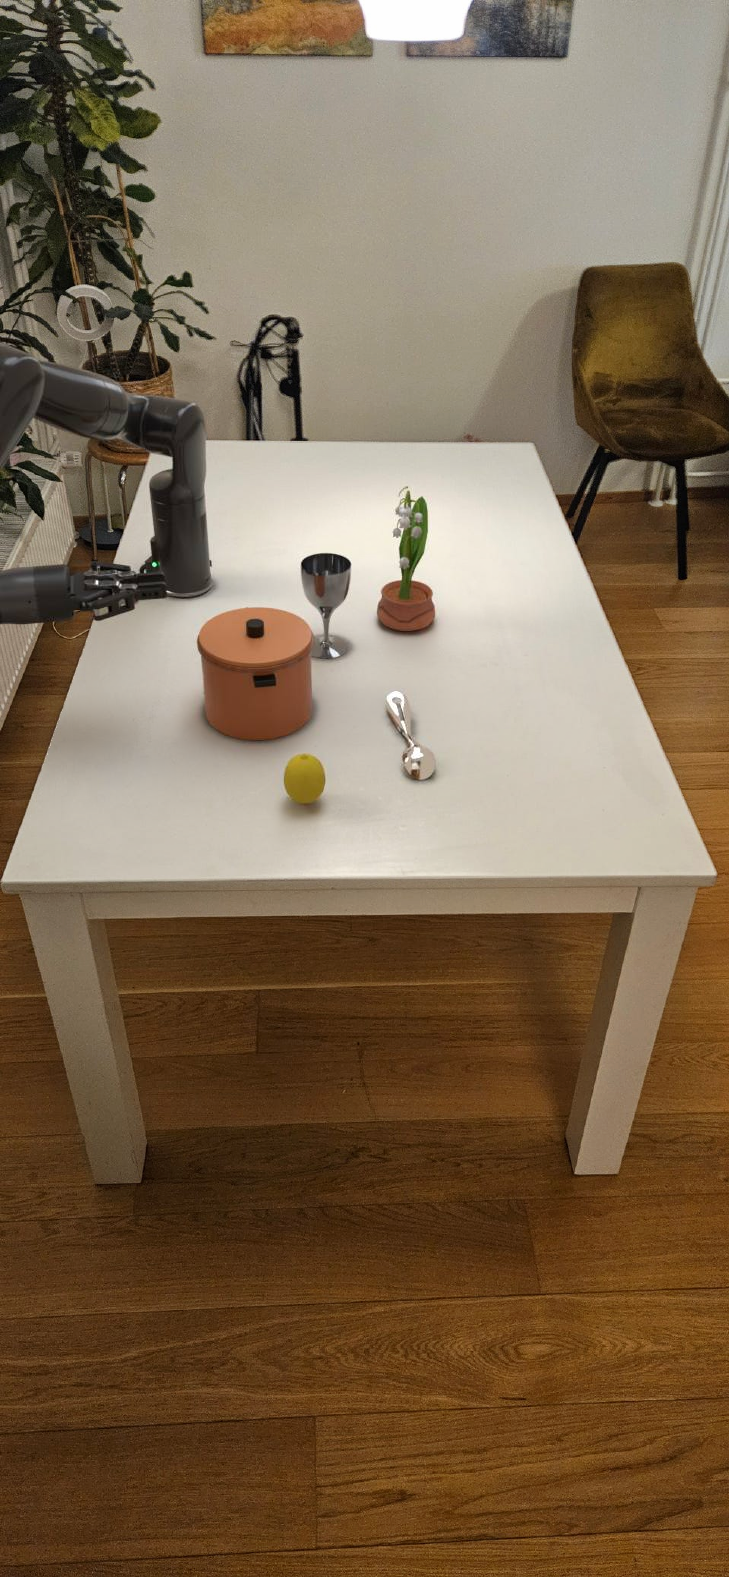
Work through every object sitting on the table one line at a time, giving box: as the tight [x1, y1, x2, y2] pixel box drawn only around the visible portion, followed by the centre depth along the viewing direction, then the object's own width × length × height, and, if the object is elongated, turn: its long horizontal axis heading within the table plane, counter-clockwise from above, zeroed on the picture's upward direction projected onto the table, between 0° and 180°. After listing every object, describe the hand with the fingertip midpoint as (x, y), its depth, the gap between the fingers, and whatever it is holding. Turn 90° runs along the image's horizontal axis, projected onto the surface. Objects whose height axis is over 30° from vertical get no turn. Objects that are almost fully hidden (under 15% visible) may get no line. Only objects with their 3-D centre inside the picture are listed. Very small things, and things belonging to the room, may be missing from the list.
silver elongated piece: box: [385, 691, 437, 781], centre depth 159 cm, size 20×4×5 cm
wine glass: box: [300, 552, 352, 660], centre depth 176 cm, size 8×8×15 cm
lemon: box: [283, 753, 327, 805], centre depth 146 cm, size 6×6×8 cm
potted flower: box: [376, 485, 436, 632], centre depth 180 cm, size 12×10×25 cm
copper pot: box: [196, 606, 315, 741], centre depth 161 cm, size 17×19×15 cm
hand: (165, 584), depth 150 cm, fingers closed
